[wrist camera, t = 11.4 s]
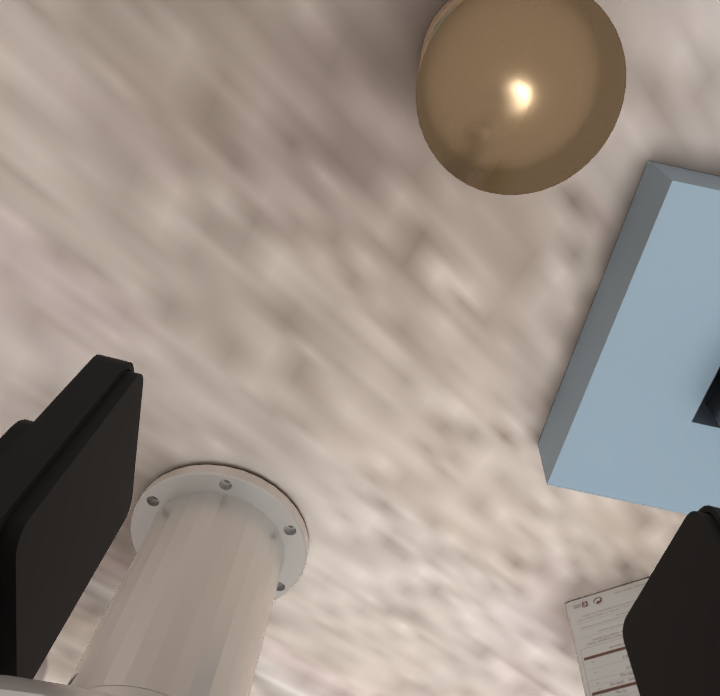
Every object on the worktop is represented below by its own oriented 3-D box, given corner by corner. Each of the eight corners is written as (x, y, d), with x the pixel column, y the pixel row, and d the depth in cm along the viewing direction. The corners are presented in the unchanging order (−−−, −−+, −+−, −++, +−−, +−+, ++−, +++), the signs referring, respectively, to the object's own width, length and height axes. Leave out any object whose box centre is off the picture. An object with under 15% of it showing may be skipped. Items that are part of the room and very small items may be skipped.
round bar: (538, 144, 35) (584, 212, 24) (407, 117, 35) (397, 172, 24) (583, -3, 32) (659, 2, 21) (439, -34, 32) (443, -45, 21)
